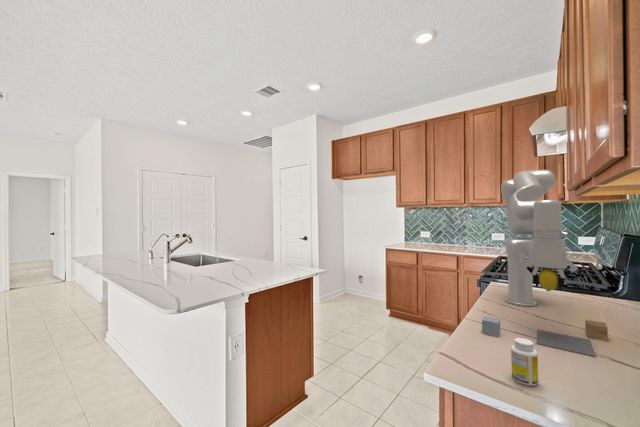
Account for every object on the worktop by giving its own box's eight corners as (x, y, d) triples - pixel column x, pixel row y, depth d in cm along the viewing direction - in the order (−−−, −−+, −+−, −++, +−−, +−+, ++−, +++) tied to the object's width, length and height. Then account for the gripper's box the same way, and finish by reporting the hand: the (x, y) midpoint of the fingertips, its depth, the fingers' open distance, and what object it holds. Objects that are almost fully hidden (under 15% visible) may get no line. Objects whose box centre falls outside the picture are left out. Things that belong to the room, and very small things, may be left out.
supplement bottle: (532, 376, 73) (531, 337, 74) (542, 388, 68) (541, 347, 68) (508, 372, 75) (507, 335, 75) (516, 385, 70) (515, 344, 70)
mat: (537, 330, 102) (537, 329, 102) (590, 340, 93) (590, 339, 93) (536, 344, 91) (536, 343, 91) (596, 357, 82) (596, 356, 82)
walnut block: (585, 332, 99) (585, 319, 99) (605, 336, 96) (605, 322, 96) (587, 337, 96) (586, 323, 96) (607, 341, 92) (607, 327, 92)
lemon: (562, 293, 92) (562, 270, 92) (543, 293, 94) (543, 269, 94) (552, 289, 98) (552, 267, 98) (535, 288, 99) (534, 266, 99)
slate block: (484, 329, 104) (484, 315, 104) (500, 332, 101) (500, 318, 101) (482, 333, 100) (482, 320, 100) (498, 337, 97) (498, 323, 97)
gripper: (580, 235, 93) (581, 289, 93) (518, 234, 104) (519, 281, 104) (582, 237, 87) (583, 294, 87) (516, 235, 99) (517, 285, 98)
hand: (548, 286), depth 96 cm, fingers closed on lemon, 5 cm apart
